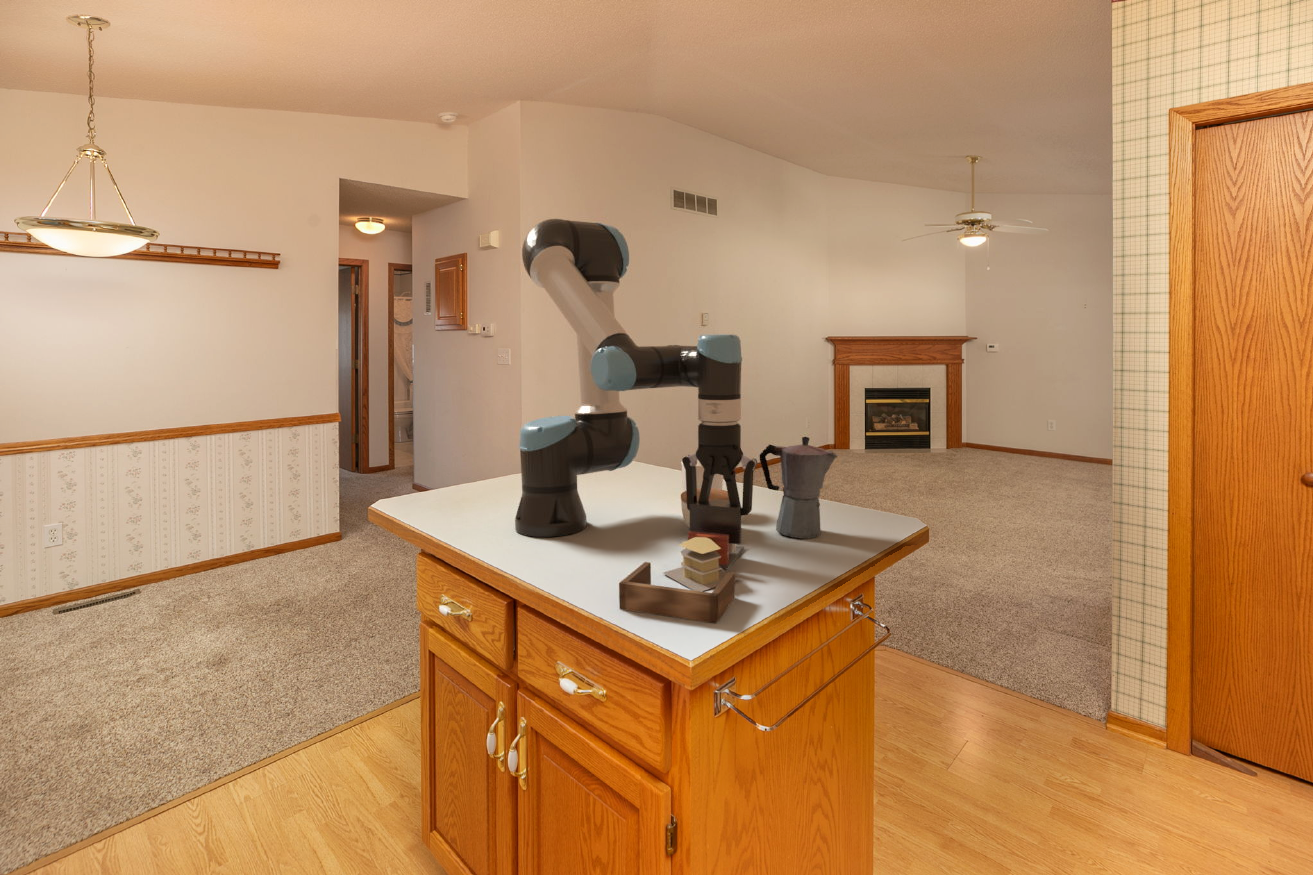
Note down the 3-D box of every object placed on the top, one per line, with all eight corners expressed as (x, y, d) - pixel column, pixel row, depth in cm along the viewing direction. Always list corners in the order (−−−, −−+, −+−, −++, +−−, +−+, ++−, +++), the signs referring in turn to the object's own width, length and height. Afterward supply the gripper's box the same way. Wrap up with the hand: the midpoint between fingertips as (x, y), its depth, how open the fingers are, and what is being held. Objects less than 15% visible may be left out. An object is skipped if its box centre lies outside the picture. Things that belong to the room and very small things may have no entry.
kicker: (682, 559, 116) (681, 509, 115) (698, 544, 124) (698, 497, 123) (733, 565, 113) (733, 514, 111) (746, 549, 121) (746, 501, 120)
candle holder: (731, 510, 154) (731, 460, 152) (711, 520, 146) (711, 467, 144) (694, 505, 159) (694, 456, 158) (673, 514, 151) (672, 463, 149)
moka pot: (836, 541, 130) (839, 441, 127) (757, 538, 133) (758, 439, 130) (833, 528, 139) (836, 433, 136) (759, 525, 142) (760, 432, 139)
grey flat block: (694, 565, 117) (694, 561, 117) (713, 546, 128) (713, 543, 128) (727, 569, 115) (727, 565, 115) (743, 549, 126) (743, 546, 126)
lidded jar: (718, 540, 132) (718, 494, 130) (671, 533, 137) (671, 488, 136) (740, 527, 141) (741, 484, 139) (696, 520, 146) (696, 479, 145)
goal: (619, 608, 99) (619, 583, 98) (645, 585, 108) (644, 561, 108) (716, 623, 93) (716, 596, 93) (734, 597, 103) (734, 572, 102)
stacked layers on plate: (741, 579, 109) (740, 547, 108) (697, 592, 105) (696, 559, 104) (704, 560, 118) (703, 531, 117) (662, 573, 113) (661, 542, 112)
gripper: (666, 423, 117) (667, 551, 120) (762, 427, 111) (761, 561, 114) (680, 418, 124) (681, 539, 127) (771, 421, 118) (769, 548, 121)
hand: (719, 549), depth 121 cm, fingers closed on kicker, 4 cm apart
